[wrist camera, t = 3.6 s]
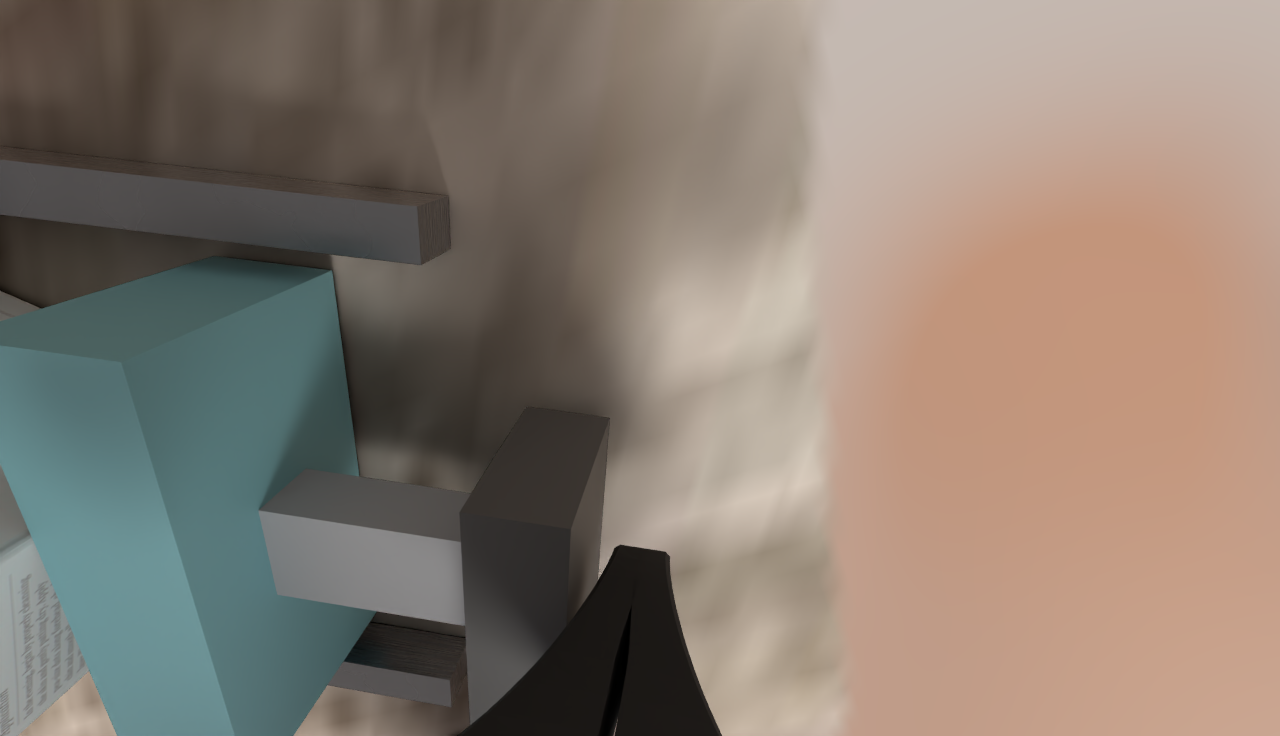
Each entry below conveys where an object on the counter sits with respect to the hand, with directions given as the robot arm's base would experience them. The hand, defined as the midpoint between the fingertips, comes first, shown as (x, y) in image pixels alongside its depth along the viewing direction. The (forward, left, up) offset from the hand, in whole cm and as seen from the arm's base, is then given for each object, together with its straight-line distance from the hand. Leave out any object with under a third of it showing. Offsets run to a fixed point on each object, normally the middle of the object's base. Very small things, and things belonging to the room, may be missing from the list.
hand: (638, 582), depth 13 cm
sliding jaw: (0, +6, -3) cm, 7 cm away
